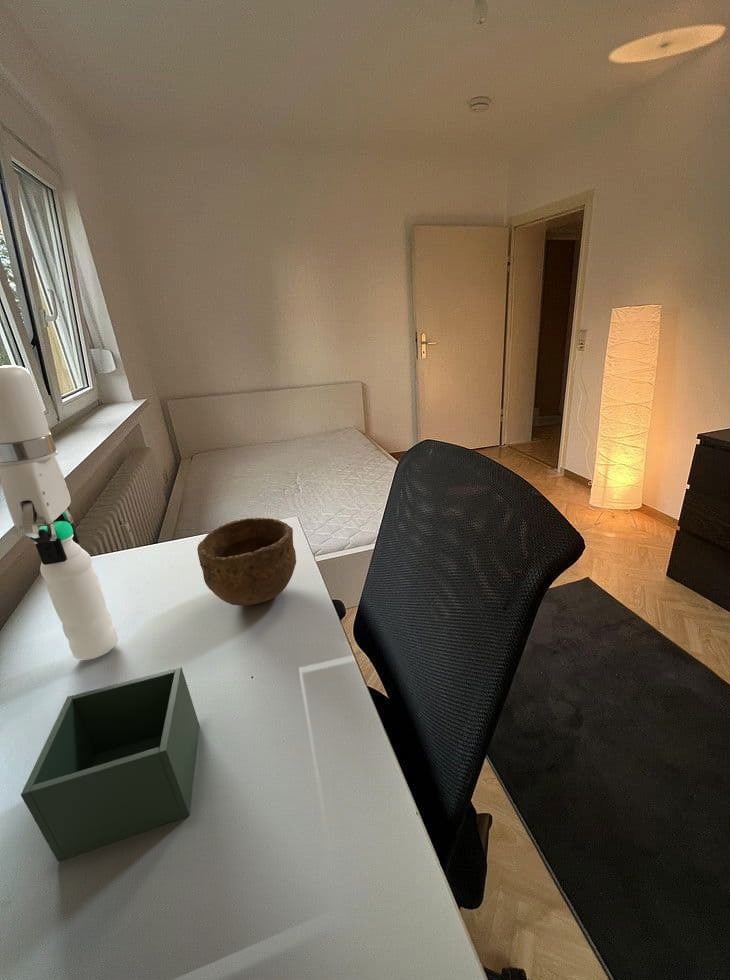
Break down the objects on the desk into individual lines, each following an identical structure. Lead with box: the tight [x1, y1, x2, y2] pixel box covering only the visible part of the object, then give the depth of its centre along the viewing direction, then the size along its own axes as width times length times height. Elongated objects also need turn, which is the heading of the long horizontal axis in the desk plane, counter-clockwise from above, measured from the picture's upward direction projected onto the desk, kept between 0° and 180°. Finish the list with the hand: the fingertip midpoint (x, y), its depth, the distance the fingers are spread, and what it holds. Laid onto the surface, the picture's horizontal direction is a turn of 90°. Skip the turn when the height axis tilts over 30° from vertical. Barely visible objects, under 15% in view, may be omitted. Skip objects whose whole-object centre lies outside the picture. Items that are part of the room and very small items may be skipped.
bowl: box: [196, 517, 297, 606], centre depth 92 cm, size 19×19×15 cm
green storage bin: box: [20, 666, 200, 862], centre depth 55 cm, size 14×14×11 cm
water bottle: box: [38, 521, 119, 661], centre depth 77 cm, size 7×7×25 cm
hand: (62, 553), depth 74 cm, fingers closed on water bottle, 5 cm apart
